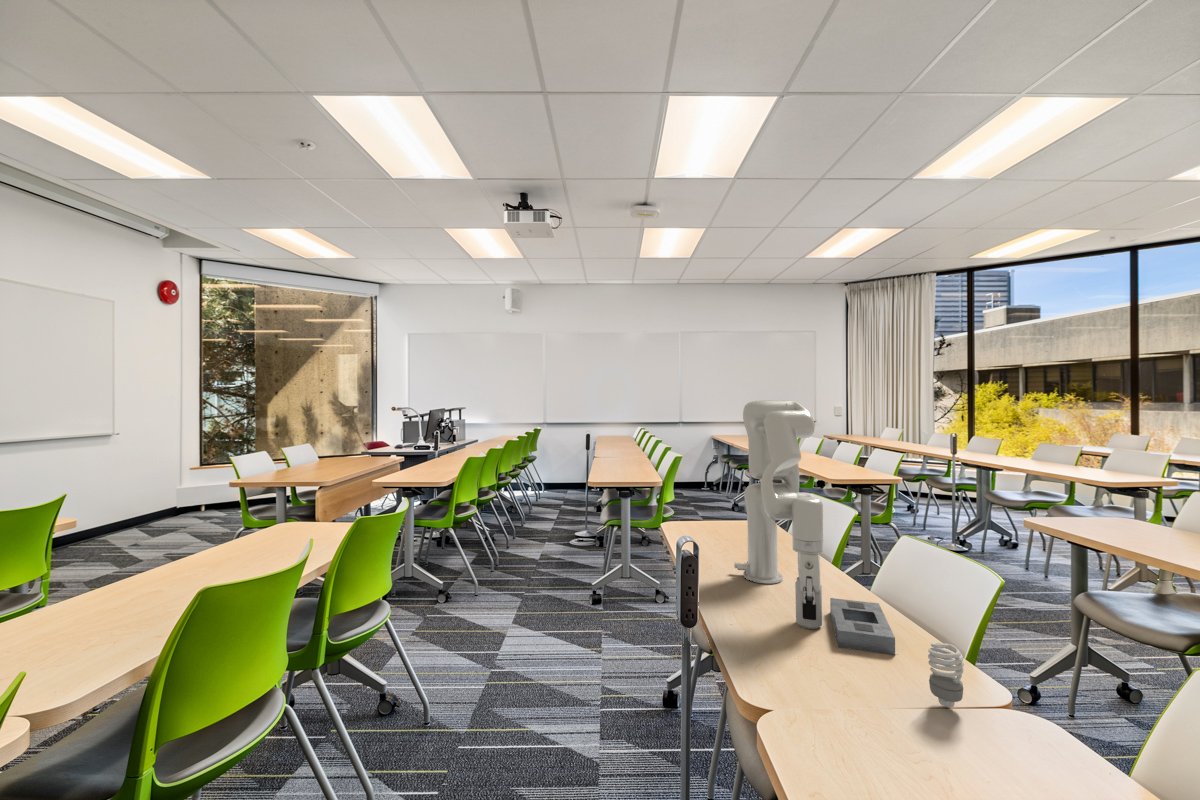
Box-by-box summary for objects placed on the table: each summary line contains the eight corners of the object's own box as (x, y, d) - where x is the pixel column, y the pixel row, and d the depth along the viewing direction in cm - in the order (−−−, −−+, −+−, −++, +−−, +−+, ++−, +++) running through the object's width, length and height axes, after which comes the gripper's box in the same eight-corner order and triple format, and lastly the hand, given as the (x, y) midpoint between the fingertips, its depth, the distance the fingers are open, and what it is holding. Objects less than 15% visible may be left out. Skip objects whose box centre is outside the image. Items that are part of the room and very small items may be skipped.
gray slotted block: (837, 647, 121) (837, 629, 121) (830, 612, 142) (830, 597, 142) (895, 655, 117) (895, 637, 117) (878, 618, 138) (878, 602, 138)
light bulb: (966, 707, 97) (965, 643, 97) (962, 720, 93) (960, 653, 93) (931, 695, 100) (930, 634, 101) (925, 708, 96) (924, 644, 97)
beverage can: (810, 632, 129) (810, 584, 129) (790, 623, 135) (789, 577, 135) (827, 627, 132) (826, 580, 132) (807, 618, 138) (806, 573, 138)
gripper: (825, 555, 124) (826, 629, 124) (821, 538, 141) (822, 604, 140) (793, 552, 127) (794, 625, 127) (792, 536, 143) (793, 600, 143)
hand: (808, 613), depth 133 cm, fingers closed on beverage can, 6 cm apart
